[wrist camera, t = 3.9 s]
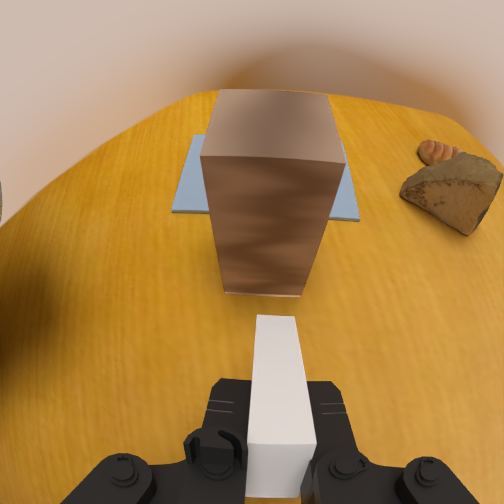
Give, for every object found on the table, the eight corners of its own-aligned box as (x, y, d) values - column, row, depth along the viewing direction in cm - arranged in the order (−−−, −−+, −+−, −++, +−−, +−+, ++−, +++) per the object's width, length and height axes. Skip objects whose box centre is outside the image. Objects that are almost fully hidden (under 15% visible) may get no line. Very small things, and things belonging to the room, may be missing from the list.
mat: (172, 212, 28) (171, 209, 27) (194, 137, 34) (194, 134, 34) (358, 221, 27) (359, 218, 27) (341, 144, 34) (342, 141, 33)
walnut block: (225, 293, 24) (199, 155, 12) (231, 231, 27) (219, 89, 15) (300, 297, 23) (346, 163, 11) (298, 235, 26) (327, 95, 14)
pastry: (411, 164, 33) (422, 142, 29) (419, 142, 36) (428, 121, 32) (470, 200, 30) (484, 180, 27) (471, 174, 33) (483, 155, 30)
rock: (382, 184, 27) (459, 247, 22) (423, 115, 23) (506, 172, 18) (409, 200, 35) (466, 248, 29) (441, 148, 31) (501, 193, 25)
